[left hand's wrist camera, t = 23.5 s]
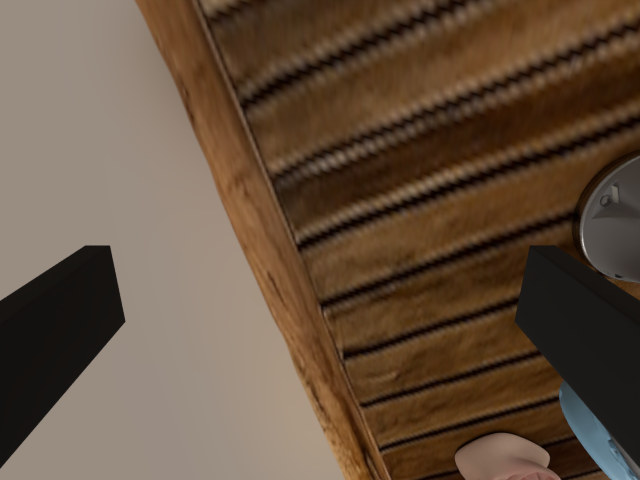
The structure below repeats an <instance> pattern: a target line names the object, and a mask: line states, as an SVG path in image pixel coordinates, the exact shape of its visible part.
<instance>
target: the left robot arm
mask: <svg viewBox="0 0 640 480" xmlns="http://www.w3.org/2000/svg"><path fill="white" fill-rule="evenodd" d="M572 231H573V239H574V243H575V246H576V248H577V251H578V252H579V254H580V255H581V257H582V258H583V259H584V260H585V261H586V262H587V263H588V264H589V265H591V266H592V267H594V268H595V269H597V270H598V271H600V272H602V273H603V274H605V275H607V276H609V277H611V278H614V279H618V280H623V281H630V282H637V283H640V150H638V151H635V152H632V153H630V154H628V155H625V156H623V157H621V158H620V159H618V160H616V161H614V162H613V163H611V164H610V165H609V166H607V167H606V168H605V169H603V170H602V171H601V172H600V173H599V174H598V175H597V176H596V177H595V178H594V179H593V180H592V181H591V183H590V184H589V185H588V187H587V188H586V189H585V191H584V192H583V194H582V196H581V198H580V200H579V202H578V204H577V207H576V210H575V213H574V217H573V226H572ZM124 323H125V317H124V312H123V307H122V302H121V297H120V292H119V287H118V283H117V278H116V273H115V268H114V263H113V258H112V253H111V248H110V246H84V247H82V248H81V249H79V250H78V251H76V252H75V253H73V254H72V255H70V256H69V257H67V258H65V259H64V260H62V261H61V262H59V263H58V264H56V265H55V266H53V267H52V268H50V269H49V270H47V271H45V272H44V273H42V274H41V275H39V276H38V277H36V278H35V279H33V280H32V281H30V282H28V283H27V284H25V285H24V286H22V287H21V288H19V289H18V290H16V291H15V292H13V293H12V294H10V295H9V296H7V297H5V298H4V299H2V300H1V301H0V468H1V467H2V466H3V465H4V464H5V462H6V461H7V460H8V459H9V458H10V456H11V455H12V454H13V453H14V452H15V451H16V450H17V448H18V447H19V446H20V445H21V444H22V442H23V441H24V440H25V439H26V438H27V437H28V435H29V434H30V433H31V432H32V431H33V430H34V428H35V427H36V426H37V425H38V424H39V422H40V421H41V420H42V419H43V418H44V417H45V415H46V414H47V413H48V412H49V411H50V410H51V408H52V407H53V406H54V405H55V404H56V403H57V401H58V400H59V399H60V398H61V397H62V395H63V394H64V393H65V392H66V391H67V390H68V388H69V387H70V386H71V385H72V384H73V383H74V381H75V380H76V379H77V378H78V377H79V375H80V374H81V373H82V372H83V371H84V370H85V368H86V367H87V366H88V365H89V364H90V363H91V361H92V360H93V359H94V358H95V357H96V356H97V354H98V353H99V352H100V351H101V350H102V349H103V347H104V346H105V345H106V344H107V343H108V341H109V340H110V339H111V338H112V337H113V336H114V334H115V333H116V332H117V331H118V330H119V328H120V327H121V326H122V325H123V324H124ZM515 323H516V324H517V325H518V326H519V327H520V329H521V330H522V331H523V332H524V333H525V334H526V336H527V337H528V338H529V339H530V340H531V342H532V343H533V344H534V345H535V346H536V347H537V349H538V350H539V351H540V352H541V353H542V354H543V356H544V357H545V358H546V359H547V360H548V361H549V363H550V364H551V365H552V366H553V367H554V369H555V370H556V371H557V372H558V373H559V374H560V376H561V377H562V378H563V379H564V381H563V382H562V384H561V386H560V389H559V398H560V404H561V408H562V410H563V413H564V415H565V417H566V419H567V421H568V423H569V425H570V427H571V428H572V430H573V432H574V433H575V435H576V436H577V438H578V439H579V441H580V442H581V444H582V445H583V446H584V448H585V449H586V450H587V452H588V453H589V454H590V456H591V457H592V458H593V459H594V461H595V462H596V463H597V464H598V465H599V467H600V468H601V469H602V470H603V471H604V472H605V473H606V475H607V476H608V477H609V478H610V479H611V480H640V301H639V300H638V299H636V298H635V297H633V296H632V295H630V294H628V293H627V292H625V291H624V290H622V289H621V288H619V287H618V286H616V285H615V284H613V283H612V282H610V281H608V280H607V279H605V278H604V277H602V276H601V275H599V274H598V273H596V272H595V271H593V270H592V269H590V268H588V267H587V266H585V265H584V264H582V263H581V262H579V261H578V260H576V259H575V258H573V257H571V256H570V255H568V254H567V253H565V252H564V251H562V250H561V249H559V248H558V247H556V246H530V248H529V253H528V258H527V263H526V268H525V273H524V278H523V283H522V287H521V292H520V297H519V302H518V307H517V312H516V317H515Z"/></svg>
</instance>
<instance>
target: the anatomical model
mask: <svg viewBox="0 0 640 480" xmlns="http://www.w3.org/2000/svg"><path fill="white" fill-rule="evenodd" d="M455 461H456V464H457V466H458V469H459V471H460V472H461V474H462V475H463V477H464V478H465V479H466V480H561V479H560V478H559V476H558V475H557V474H555V473H554V472H553V471H551V470H550V469H548V468H547V466H548V464H549V461H550V457H549V454H548V453H547V452H546V451H545V450H544V449H543V448H541V447H540V446H538V445H536V444H534V443H532V442H530V441H528V440H526V439H524V438H521V437H519V436H516V435H513V434H508V433H494V434H490V435H487V436H484V437H481V438H479V439H477V440H475V441H473V442H471V443H469V444H467V445H465V446H464V447H462V448H461V449H460V450H458V451H457V453H456V454H455Z"/></svg>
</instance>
